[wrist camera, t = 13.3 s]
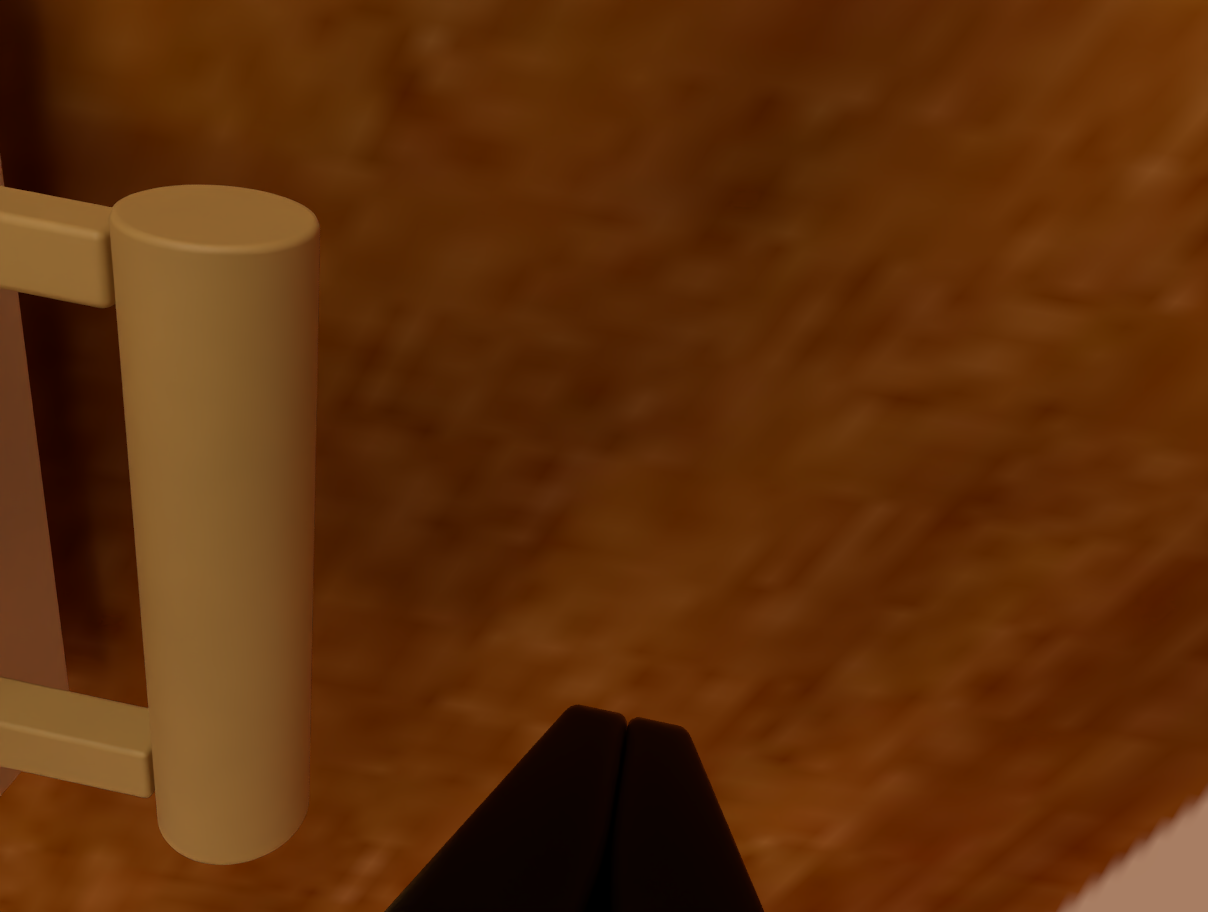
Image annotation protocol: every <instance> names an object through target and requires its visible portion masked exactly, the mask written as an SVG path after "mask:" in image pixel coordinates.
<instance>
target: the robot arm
mask: <svg viewBox="0 0 1208 912" xmlns="http://www.w3.org/2000/svg"><path fill="white" fill-rule="evenodd" d="M626 729H627V730H626ZM384 912H764V910H763V908H762V905H761V903H760V901H759V898H758V896H757V894H756V891H755V889H754V886H753V884H752V882H751V879H750V877H749V874H748V872H747V870H746V867H745V865H744V863H743V860H742V858H741V855H740V853H739V851H738V848H737V846H736V843H735V841H734V839H733V836H732V834H731V832H730V829H729V827H728V824H727V822H726V820H725V817H724V815H723V813H722V810H721V808H720V805H719V803H718V801H717V798H716V796H715V793H714V791H713V789H712V786H711V784H710V782H709V779H708V777H707V774H706V772H705V770H704V767H703V765H702V763H701V760H700V758H699V755H698V753H697V751H696V748H695V746H694V743H693V741H692V739H691V737H690V735H689V733H688V732H687V730H685V729H684V728H683V727H681V726H678V725H673V724H669V723H664V722H659V721H654V720H650V719H645V718H640V717H636V718H634V719H632V720H631V721H630V722H629V724H628V726H627V721H626V719H625V717H624V716H623V715H622V714H620V713H617V712H612V711H607V710H602V709H598V708H593V707H588V706H583V705H574V706H571V707H569V708H568V709H567V710H566V711H565V712H564V713H563V714H562V715H561V716H560V717H559V718H558V719H557V720H556V722H555V723H554V724H553V725H552V726H551V727H550V728H549V729H548V730H547V731H546V733H545V734H544V735H543V736H542V737H541V738H540V739H539V740H538V741H537V743H536V744H535V745H534V746H533V747H532V748H531V749H530V750H529V751H528V753H527V754H526V755H525V756H524V757H523V758H522V759H521V760H520V761H519V763H518V764H517V765H516V766H515V767H514V768H513V769H512V770H511V771H510V773H509V774H508V775H507V776H506V777H505V778H504V779H503V780H502V781H501V783H500V784H499V785H498V786H497V787H496V788H495V789H494V790H493V791H492V793H491V794H490V795H489V796H488V797H487V798H486V799H485V800H484V801H483V803H482V804H481V805H480V806H479V807H478V808H477V809H476V810H475V811H474V813H473V814H472V815H471V816H470V817H469V818H468V819H467V820H466V821H465V823H464V824H463V825H462V826H461V827H460V828H459V829H458V830H457V831H456V833H455V834H454V835H453V836H452V837H451V838H450V839H449V840H448V841H447V843H446V844H445V845H444V846H443V847H442V848H441V849H440V850H439V851H438V853H437V854H436V855H435V856H434V857H433V858H432V859H431V860H430V861H429V863H428V864H427V865H426V866H425V867H424V868H423V869H422V870H421V871H420V873H419V874H418V875H417V876H416V877H415V878H414V879H413V880H412V881H411V883H410V884H409V885H408V886H407V887H406V888H405V889H404V890H403V891H402V893H401V894H400V895H399V896H398V897H397V898H396V899H395V900H394V901H393V903H392V904H391V905H390V906H389V907H388V908H387V909H386V910H385V911H384Z"/></svg>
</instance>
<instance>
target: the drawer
mask: <svg viewBox="0 0 1208 912" xmlns="http://www.w3.org/2000/svg"><path fill="white" fill-rule="evenodd" d="M319 268H320V225H319V222H318V219H317V217H316V216H315V214H314V213H313V212H312V211H311V210H310V209H308V208H307V207H305V206H304V205H302V204H300V203H298V202H295V201H293V200H291V199H288V198H285V197H282V196H279V195H276V194H272V193H268V192H264V191H259V190H254V189H248V188H242V187H234V186H223V185H177V186H167V187H160V188H154V189H149V190H145V191H141V192H137V193H134V194H131V195H129V196H126V197H124V198H122V199H121V200H119V201H118V202H117V203H115V204H114V206H113V207H107V206H102V205H97V204H92V203H87V202H82V201H76V200H71V199H66V198H61V197H56V196H50V195H45V194H40V193H35V192H30V191H24V190H19V189H14V188H9V187H5V186H4V178H3V171H2V163H1V155H0V796H1V795H2V794H3V792H4V791H5V790H6V789H7V788H8V786H9V785H10V784H11V783H12V782H13V781H14V779H15V778H16V777H17V776H18V775H19V773H20V772H21V771H23V772H28V773H32V774H37V775H42V776H46V777H51V778H55V779H60V780H64V781H69V782H73V783H78V784H83V785H87V786H92V787H96V788H101V789H105V790H110V791H114V792H119V793H124V794H128V795H133V796H137V797H142V798H149V797H150V796H151V795H152V794H153V792H154V791H155V795H156V808H157V819H158V826H159V828H160V831H161V833H162V835H163V837H164V839H165V840H166V841H167V842H168V843H169V845H170V846H171V847H172V848H173V849H175V850H176V851H177V852H178V853H180V854H182V855H183V856H185V857H187V858H189V859H192V860H194V861H198V862H201V863H206V864H213V865H230V864H238V863H244V862H247V861H251V860H254V859H257V858H260V857H262V856H264V855H267V854H269V853H271V852H272V851H274V850H276V849H277V848H279V847H280V846H281V845H283V844H284V843H285V842H287V841H288V840H289V839H290V838H291V837H292V836H293V834H294V833H295V832H296V831H297V829H298V828H299V827H300V825H301V823H302V822H303V820H304V818H305V816H306V813H307V810H308V806H309V785H310V734H311V682H312V630H313V579H314V527H315V475H316V424H317V372H318V320H319ZM18 292H22V293H27V294H32V295H37V296H42V297H47V298H52V299H57V300H62V301H67V302H72V303H77V304H82V305H87V306H92V307H98V308H107V307H111V306H113V305H114V304H116V314H117V326H118V338H119V351H120V363H121V376H122V388H123V400H124V413H125V425H126V437H127V450H128V462H129V474H130V487H131V499H132V511H133V524H134V536H135V548H136V561H137V573H138V585H139V598H140V610H141V623H142V635H143V647H144V660H145V672H146V684H147V697H148V708H145V707H141V706H136V705H131V704H127V703H122V702H117V701H113V700H108V699H104V698H99V697H94V696H90V695H85V694H80V693H76V692H71V691H69V685H68V677H67V669H66V661H65V653H64V646H63V638H62V630H61V622H60V614H59V607H58V599H57V591H56V583H55V576H54V568H53V560H52V552H51V544H50V537H49V529H48V521H47V513H46V505H45V498H44V490H43V482H42V474H41V467H40V459H39V451H38V443H37V435H36V428H35V420H34V412H33V404H32V396H31V389H30V381H29V373H28V365H27V357H26V350H25V342H24V334H23V326H22V319H21V311H20V303H19V295H18Z"/></svg>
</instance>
